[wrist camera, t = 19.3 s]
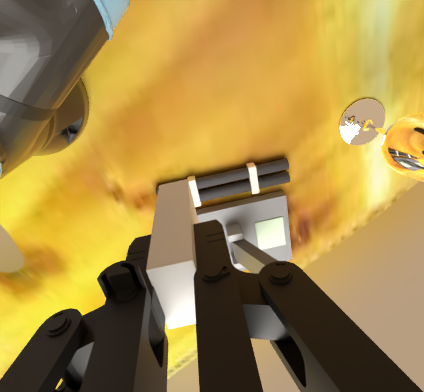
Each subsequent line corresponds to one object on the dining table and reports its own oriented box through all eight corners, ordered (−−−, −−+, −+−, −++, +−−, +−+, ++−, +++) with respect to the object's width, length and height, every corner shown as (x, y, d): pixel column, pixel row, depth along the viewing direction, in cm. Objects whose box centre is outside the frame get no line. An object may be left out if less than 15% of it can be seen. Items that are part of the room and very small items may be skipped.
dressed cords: (163, 208, 52) (162, 214, 50) (155, 183, 50) (154, 189, 48) (287, 181, 52) (291, 185, 50) (284, 155, 50) (288, 159, 48)
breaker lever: (230, 258, 53) (283, 299, 43) (226, 240, 51) (281, 278, 41) (242, 251, 54) (296, 290, 44) (238, 233, 52) (294, 269, 42)
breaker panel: (189, 275, 59) (190, 294, 54) (171, 215, 53) (170, 231, 48) (288, 253, 59) (298, 270, 54) (282, 190, 53) (292, 203, 48)
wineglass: (394, 110, 48) (521, 145, 30) (365, 153, 51) (465, 208, 33) (357, 89, 46) (469, 113, 28) (328, 134, 49) (414, 183, 31)
